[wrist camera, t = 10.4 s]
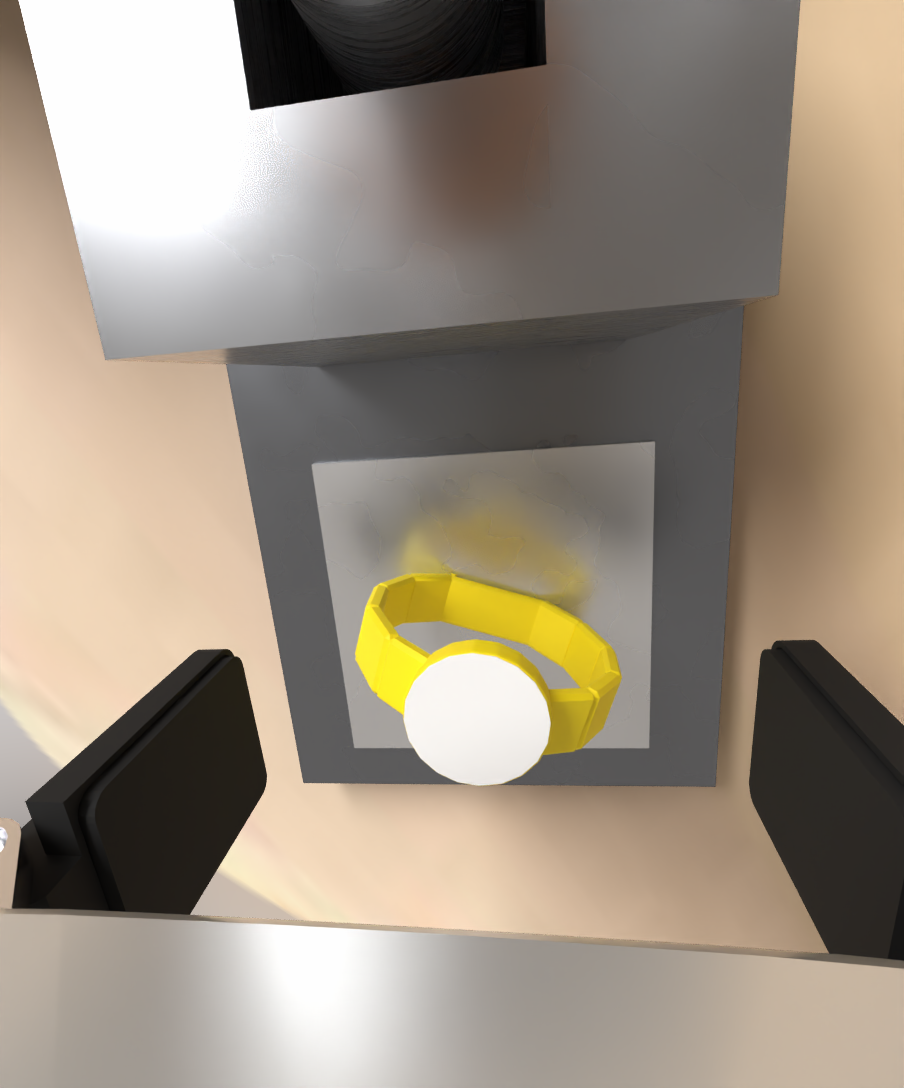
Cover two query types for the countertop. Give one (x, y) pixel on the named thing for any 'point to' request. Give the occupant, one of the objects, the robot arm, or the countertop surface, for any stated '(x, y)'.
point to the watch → (484, 676)
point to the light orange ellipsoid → (405, 40)
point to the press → (452, 323)
